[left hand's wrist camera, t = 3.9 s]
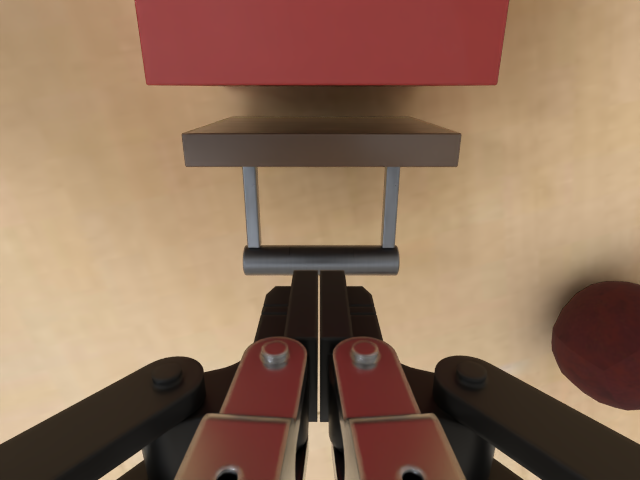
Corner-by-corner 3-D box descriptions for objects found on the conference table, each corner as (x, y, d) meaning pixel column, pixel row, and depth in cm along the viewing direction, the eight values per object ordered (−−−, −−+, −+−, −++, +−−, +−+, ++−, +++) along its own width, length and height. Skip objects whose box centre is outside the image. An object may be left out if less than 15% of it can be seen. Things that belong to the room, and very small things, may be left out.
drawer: (400, 237, 25) (440, 311, 17) (240, 237, 25) (201, 311, 17) (436, -237, 18) (541, -529, 9) (206, -238, 18) (104, -529, 9)
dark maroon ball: (662, 318, 28) (766, 388, 22) (561, 376, 30) (629, 457, 23) (616, 242, 26) (716, 293, 20) (511, 308, 28) (570, 376, 21)
